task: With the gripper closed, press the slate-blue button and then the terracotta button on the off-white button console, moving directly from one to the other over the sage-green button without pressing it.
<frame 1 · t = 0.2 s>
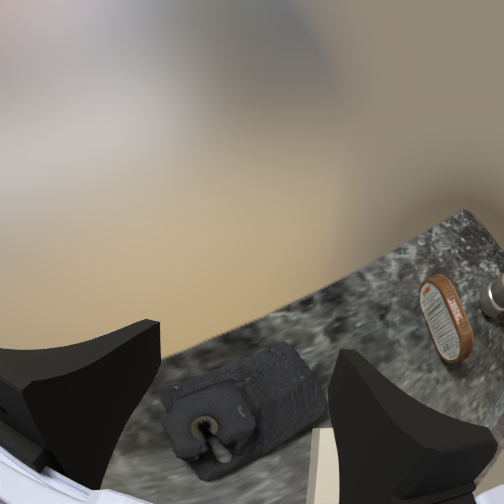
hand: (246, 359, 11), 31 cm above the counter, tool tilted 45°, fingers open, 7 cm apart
button console: (346, 483, 29), on the counter
black fabric pouch: (243, 412, 37), on the counter
plastic bottle: (485, 305, 43), on the counter
tin: (432, 329, 42), on the counter
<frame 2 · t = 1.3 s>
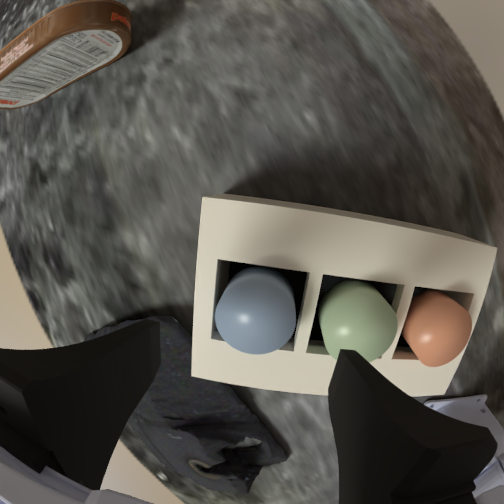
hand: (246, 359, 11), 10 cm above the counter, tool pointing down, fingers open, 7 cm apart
button console: (338, 287, 21), on the counter
terracotta button: (435, 327, 15), point 6 cm above the counter, slide at 0.0 cm
black fabric pouch: (185, 408, 26), on the counter
sage green button: (356, 321, 15), point 6 cm above the counter, slide at 0.0 cm
slate blue button: (257, 309, 16), point 6 cm above the counter, slide at 0.0 cm
tin: (77, 73, 19), on the counter
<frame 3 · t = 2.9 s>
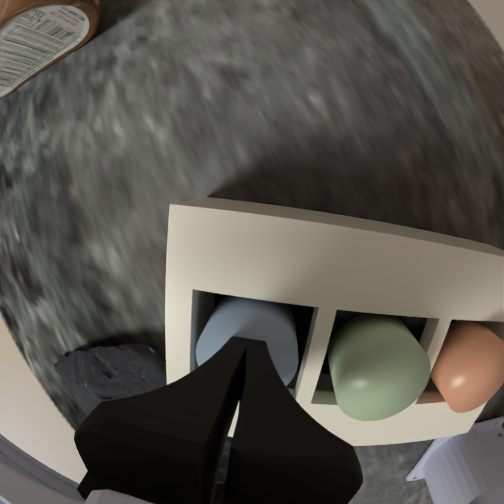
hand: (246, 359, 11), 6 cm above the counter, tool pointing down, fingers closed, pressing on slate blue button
button console: (351, 312, 16), on the counter
terracotta button: (469, 365, 11), point 6 cm above the counter, slide at 0.0 cm
black fabric pouch: (170, 438, 21), on the counter
sage green button: (376, 366, 11), point 6 cm above the counter, slide at 0.0 cm
slate blue button: (249, 342, 12), point 5 cm above the counter, slide at 0.9 cm, touching gripper
tin: (45, 62, 15), on the counter
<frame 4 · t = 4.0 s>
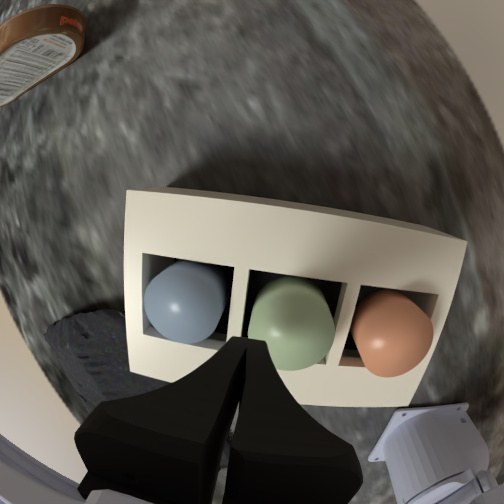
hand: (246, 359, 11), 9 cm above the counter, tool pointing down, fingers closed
button console: (288, 284, 20), on the counter
terracotta button: (390, 332, 14), point 6 cm above the counter, slide at 0.0 cm
black fabric pouch: (141, 403, 25), on the counter
sage green button: (290, 322, 14), point 6 cm above the counter, slide at 0.0 cm
slate blue button: (188, 298, 16), point 5 cm above the counter, slide at 0.9 cm
tin: (41, 75, 18), on the counter
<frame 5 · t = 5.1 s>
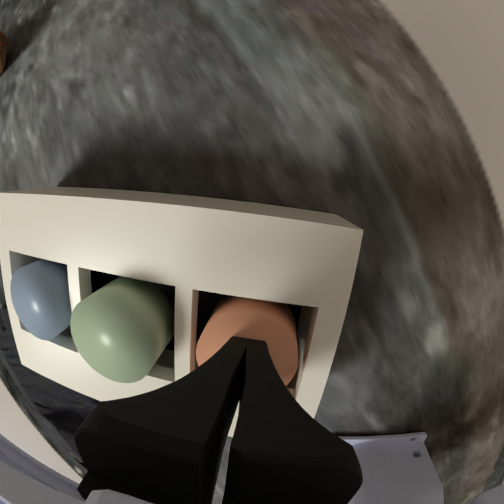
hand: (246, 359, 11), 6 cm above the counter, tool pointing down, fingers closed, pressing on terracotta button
button console: (166, 286, 17), on the counter
terracotta button: (249, 343, 12), point 5 cm above the counter, slide at 0.9 cm, touching gripper
black fabric pouch: (67, 400, 22), on the counter
sage green button: (123, 328, 12), point 6 cm above the counter, slide at 0.0 cm
slate blue button: (48, 296, 13), point 5 cm above the counter, slide at 0.9 cm
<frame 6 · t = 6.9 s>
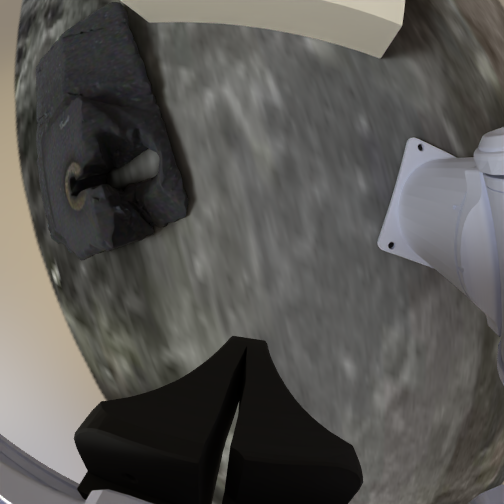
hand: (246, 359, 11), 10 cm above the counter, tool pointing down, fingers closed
black fabric pouch: (95, 124, 21), on the counter
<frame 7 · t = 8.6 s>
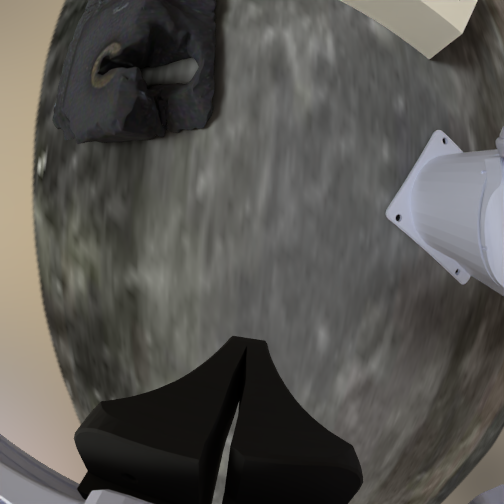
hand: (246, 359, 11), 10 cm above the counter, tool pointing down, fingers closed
black fabric pouch: (142, 26, 18), on the counter
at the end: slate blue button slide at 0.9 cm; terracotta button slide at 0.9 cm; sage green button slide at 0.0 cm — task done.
